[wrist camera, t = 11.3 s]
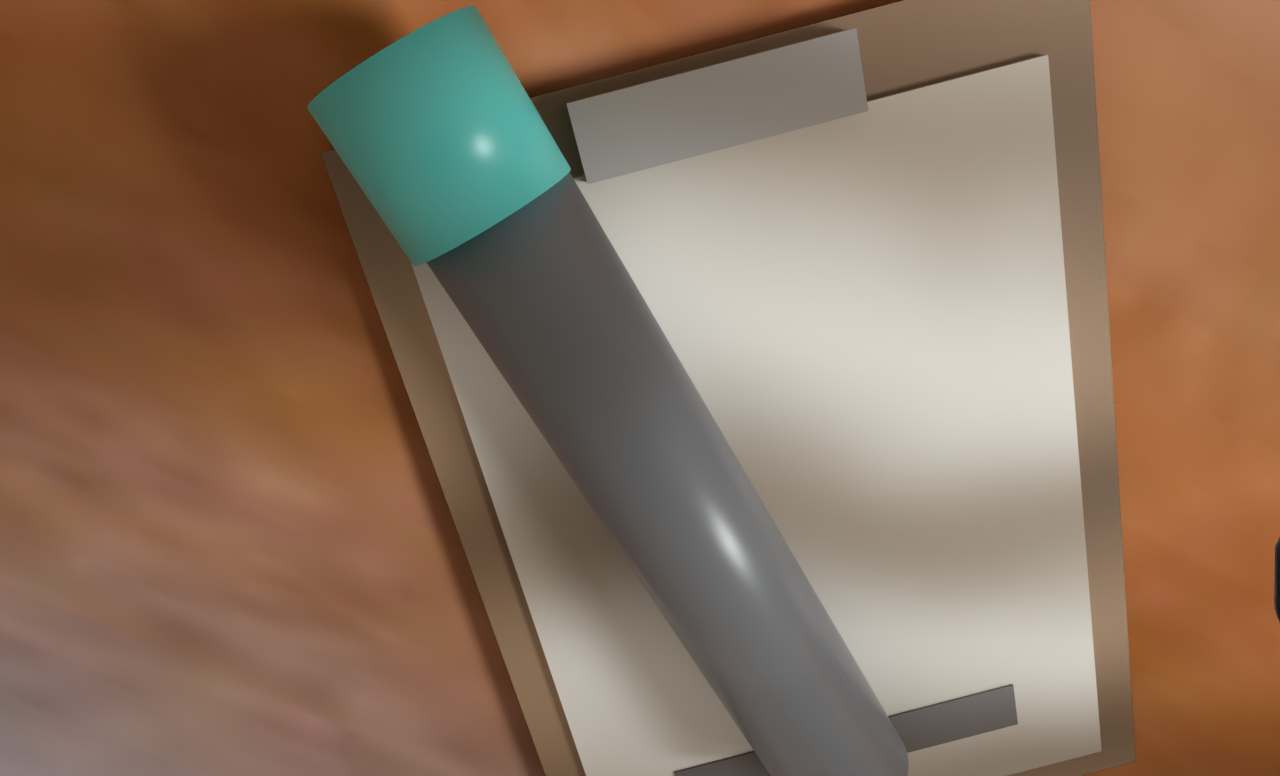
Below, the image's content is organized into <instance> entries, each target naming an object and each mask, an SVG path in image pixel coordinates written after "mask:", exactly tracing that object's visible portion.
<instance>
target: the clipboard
mask: <svg viewBox="0 0 1280 776" xmlns="http://www.w3.org/2000/svg"><path fill="white" fill-rule="evenodd" d="M530 99H531V101H532V103H533V105H534V106H535V108H536V110H537V111H538V113H539V115H540V117H541V118H542V120H543V122H544V123H545V125H546V127H547V129H548V130H549V132H550V134H551V135H552V137H553V139H554V141H555V142H556V144H557V146H558V147H559V149H560V151H561V153H562V154H563V156H564V158H565V159H566V161H567V163H568V165H569V166H570V168H571V170H570V174H571V175H572V177H573V179H574V180H575V182H576V184H577V186H578V187H579V189H580V191H581V192H582V194H583V196H584V198H585V199H586V201H587V203H588V204H589V206H590V208H591V209H592V211H593V213H594V215H595V216H596V218H597V220H598V221H599V223H600V225H601V227H602V228H603V230H604V232H605V233H606V235H607V237H608V239H609V240H610V242H611V244H612V245H613V247H614V249H615V251H616V252H617V254H618V256H619V257H620V259H621V261H622V263H623V264H624V266H625V268H626V269H627V271H628V273H629V274H630V276H631V278H632V280H633V281H634V283H635V285H636V286H637V288H638V290H639V292H640V293H641V295H642V297H643V298H644V300H645V302H646V304H647V305H648V307H649V309H650V310H651V312H652V314H653V316H654V317H655V319H656V321H657V322H658V324H659V326H660V327H661V329H662V331H663V333H664V334H665V336H666V338H667V339H668V341H669V343H670V345H671V346H672V348H673V350H674V351H675V353H676V355H677V357H678V358H679V360H680V362H681V363H682V365H683V367H684V369H685V370H686V372H687V374H688V375H689V377H690V379H691V380H692V382H693V384H694V386H695V387H696V389H697V391H698V392H699V394H700V396H701V398H702V399H703V401H704V403H705V404H706V406H707V408H708V410H709V411H710V413H711V415H712V416H713V418H714V420H715V422H716V423H717V425H718V427H719V428H720V430H721V432H722V434H723V435H724V437H725V439H726V440H727V442H728V444H729V445H730V447H731V449H732V451H733V452H734V454H735V456H736V457H737V459H738V461H739V463H740V464H741V466H742V468H743V469H744V471H745V473H746V475H747V476H748V478H749V480H750V481H751V483H752V485H753V487H754V488H755V490H756V492H757V493H758V495H759V497H760V498H761V500H762V502H763V504H764V505H765V507H766V509H767V510H768V512H769V514H770V516H771V517H772V519H773V521H774V522H775V524H776V526H777V528H778V529H779V531H780V533H781V534H782V536H783V538H784V540H785V541H786V543H787V545H788V546H789V548H790V550H791V551H792V553H793V555H794V557H795V558H796V560H797V562H798V563H799V565H800V567H801V569H802V570H803V572H804V574H805V575H806V577H807V579H808V581H809V582H810V584H811V586H812V587H813V589H814V591H815V593H816V594H817V596H818V598H819V599H820V601H821V603H822V604H823V606H824V608H825V610H826V611H827V613H828V615H829V616H830V618H831V620H832V622H833V623H834V625H835V627H836V628H837V630H838V632H839V634H840V635H841V637H842V639H843V640H844V642H845V644H846V646H847V647H848V649H849V651H850V652H851V654H852V656H853V658H854V659H855V661H856V663H857V664H858V666H859V668H860V669H861V671H862V673H863V675H864V676H865V678H866V680H867V681H868V683H869V685H870V687H871V688H872V690H873V692H874V693H875V695H876V697H877V699H878V700H879V702H880V704H881V705H882V707H883V709H884V711H885V712H886V714H887V716H888V717H889V719H890V721H891V722H892V724H893V726H894V728H895V729H896V731H897V733H898V734H899V736H900V738H901V740H902V741H903V743H904V745H905V747H906V750H907V754H908V760H909V769H908V776H1082V775H1086V774H1089V773H1093V772H1097V771H1101V770H1105V769H1109V768H1113V767H1117V766H1120V765H1124V764H1128V763H1132V762H1136V761H1135V745H1134V728H1133V711H1132V694H1131V678H1130V661H1129V644H1128V628H1127V611H1126V594H1125V578H1124V561H1123V544H1122V528H1121V511H1120V494H1119V478H1118V461H1117V444H1116V428H1115V411H1114V394H1113V377H1112V361H1111V344H1110V327H1109V311H1108V294H1107V277H1106V261H1105V244H1104V227H1103V211H1102V194H1101V177H1100V161H1099V144H1098V127H1097V111H1096V94H1095V77H1094V61H1093V44H1092V27H1091V10H1090V0H903V1H899V2H895V3H891V4H887V5H883V6H880V7H876V8H872V9H868V10H864V11H860V12H857V13H853V14H849V15H845V16H841V17H838V18H834V19H830V20H826V21H822V22H818V23H815V24H811V25H807V26H803V27H799V28H795V29H792V30H788V31H784V32H780V33H776V34H773V35H769V36H765V37H761V38H757V39H753V40H750V41H746V42H742V43H738V44H734V45H730V46H727V47H723V48H719V49H715V50H711V51H708V52H704V53H700V54H696V55H692V56H688V57H685V58H681V59H677V60H673V61H669V62H665V63H662V64H658V65H654V66H650V67H646V68H643V69H639V70H635V71H631V72H627V73H623V74H620V75H616V76H612V77H608V78H604V79H600V80H597V81H593V82H589V83H585V84H581V85H578V86H574V87H570V88H566V89H562V90H558V91H555V92H551V93H547V94H543V95H539V96H535V97H532V98H530ZM321 155H322V158H323V161H324V164H325V166H326V169H327V172H328V175H329V177H330V180H331V183H332V186H333V189H334V191H335V194H336V197H337V200H338V202H339V205H340V208H341V211H342V213H343V216H344V219H345V222H346V225H347V227H348V230H349V233H350V236H351V238H352V241H353V244H354V247H355V249H356V252H357V255H358V258H359V260H360V263H361V266H362V269H363V272H364V274H365V277H366V280H367V283H368V285H369V288H370V291H371V294H372V296H373V299H374V302H375V305H376V308H377V310H378V313H379V316H380V319H381V321H382V324H383V327H384V330H385V332H386V335H387V338H388V341H389V343H390V346H391V349H392V352H393V355H394V357H395V360H396V363H397V366H398V368H399V371H400V374H401V377H402V379H403V382H404V385H405V388H406V391H407V393H408V396H409V399H410V402H411V404H412V407H413V410H414V413H415V415H416V418H417V421H418V424H419V426H420V429H421V432H422V435H423V438H424V440H425V443H426V446H427V449H428V451H429V454H430V457H431V460H432V462H433V465H434V468H435V471H436V474H437V476H438V479H439V482H440V485H441V487H442V490H443V493H444V496H445V498H446V501H447V504H448V507H449V509H450V512H451V515H452V518H453V521H454V523H455V526H456V529H457V532H458V534H459V537H460V540H461V543H462V545H463V548H464V551H465V554H466V556H467V559H468V562H469V565H470V568H471V570H472V573H473V576H474V579H475V581H476V584H477V587H478V590H479V592H480V595H481V598H482V601H483V604H484V606H485V609H486V612H487V615H488V617H489V620H490V623H491V626H492V628H493V631H494V634H495V637H496V639H497V642H498V645H499V648H500V651H501V653H502V656H503V659H504V662H505V664H506V667H507V670H508V673H509V675H510V678H511V681H512V684H513V687H514V689H515V692H516V695H517V698H518V700H519V703H520V706H521V709H522V711H523V714H524V717H525V720H526V722H527V725H528V728H529V731H530V734H531V736H532V739H533V742H534V745H535V747H536V750H537V753H538V756H539V758H540V761H541V764H542V767H543V770H544V772H545V775H546V776H771V775H770V774H769V772H768V771H767V769H766V768H765V766H764V765H763V764H762V762H761V761H760V759H759V758H758V756H757V755H756V753H755V752H754V750H753V749H752V747H751V746H750V744H749V743H748V741H747V740H746V738H745V737H744V735H743V734H742V732H741V731H740V729H739V728H738V726H737V725H736V723H735V722H734V720H733V719H732V717H731V716H730V714H729V713H728V711H727V710H726V708H725V707H724V705H723V704H722V702H721V701H720V699H719V698H718V696H717V695H716V693H715V692H714V690H713V689H712V687H711V686H710V684H709V683H708V682H707V680H706V679H705V677H704V676H703V674H702V673H701V671H700V670H699V668H698V667H697V665H696V664H695V662H694V661H693V659H692V658H691V656H690V655H689V653H688V652H687V650H686V649H685V647H684V646H683V644H682V643H681V641H680V640H679V638H678V637H677V635H676V634H675V632H674V631H673V629H672V628H671V626H670V625H669V623H668V622H667V620H666V619H665V617H664V616H663V614H662V613H661V611H660V610H659V608H658V607H657V605H656V604H655V602H654V601H653V599H652V598H651V597H650V595H649V594H648V592H647V591H646V589H645V588H644V586H643V585H642V583H641V582H640V580H639V579H638V577H637V576H636V574H635V573H634V571H633V570H632V568H631V567H630V565H629V564H628V562H627V561H626V559H625V558H624V556H623V555H622V553H621V552H620V550H619V549H618V547H617V546H616V544H615V543H614V541H613V540H612V538H611V537H610V535H609V534H608V532H607V531H606V529H605V528H604V526H603V525H602V523H601V522H600V520H599V519H598V517H597V516H596V514H595V513H594V512H593V510H592V509H591V507H590V506H589V504H588V503H587V501H586V500H585V498H584V497H583V495H582V494H581V492H580V491H579V489H578V488H577V486H576V485H575V483H574V482H573V480H572V479H571V477H570V476H569V474H568V473H567V471H566V470H565V468H564V467H563V465H562V464H561V462H560V461H559V459H558V458H557V456H556V455H555V453H554V452H553V450H552V449H551V447H550V446H549V444H548V443H547V441H546V440H545V438H544V437H543V435H542V434H541V432H540V431H539V430H538V428H537V427H536V425H535V424H534V422H533V421H532V419H531V418H530V416H529V415H528V413H527V412H526V410H525V409H524V407H523V406H522V404H521V403H520V401H519V400H518V398H517V397H516V395H515V394H514V392H513V391H512V389H511V388H510V386H509V385H508V383H507V382H506V380H505V379H504V377H503V376H502V374H501V373H500V371H499V370H498V368H497V367H496V365H495V364H494V362H493V361H492V359H491V358H490V356H489V355H488V353H487V352H486V350H485V349H484V347H483V346H482V345H481V343H480V342H479V340H478V339H477V337H476V336H475V334H474V333H473V331H472V330H471V328H470V327H469V325H468V324H467V322H466V321H465V319H464V318H463V316H462V315H461V313H460V312H459V310H458V309H457V307H456V306H455V304H454V303H453V301H452V300H451V298H450V297H449V295H448V294H447V292H446V291H445V289H444V288H443V286H442V285H441V283H440V282H439V280H438V279H437V277H436V276H435V274H434V273H433V271H432V270H431V268H430V267H429V265H428V264H427V262H426V263H423V264H421V265H418V266H414V265H413V264H412V263H411V261H410V260H409V258H408V257H407V255H406V254H405V252H404V251H403V249H402V248H401V246H400V245H399V243H398V242H397V240H396V239H395V237H394V236H393V235H392V233H391V232H390V230H389V229H388V227H387V226H386V224H385V223H384V221H383V220H382V218H381V217H380V215H379V214H378V212H377V211H376V209H375V208H374V206H373V205H372V204H371V202H370V201H369V199H368V198H367V196H366V195H365V193H364V192H363V190H362V189H361V187H360V186H359V184H358V183H357V181H356V180H355V178H354V177H353V175H352V174H351V173H350V171H349V170H348V168H347V167H346V165H345V164H344V162H343V161H342V159H341V158H340V156H339V155H338V153H337V152H336V150H335V149H333V150H329V151H325V152H322V153H321Z"/></svg>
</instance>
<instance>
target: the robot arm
mask: <svg viewBox="0 0 1280 776" xmlns="http://www.w3.org/2000/svg"><path fill="white" fill-rule="evenodd" d="M1274 605H1275V610H1276V614H1277V617H1278V619H1279V622H1280V538H1279V539H1278V541H1277V543H1276V546H1275V587H1274Z"/></svg>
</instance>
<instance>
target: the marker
mask: <svg viewBox="0 0 1280 776" xmlns="http://www.w3.org/2000/svg"><path fill="white" fill-rule="evenodd" d="M307 109H308V110H309V112H310V113H311V115H312V116H313V118H314V119H315V121H316V122H317V124H318V125H319V127H320V128H321V130H322V131H323V133H324V134H325V136H326V137H327V139H328V140H329V142H330V143H331V144H332V146H333V147H334V149H335V150H336V152H337V153H338V155H339V156H340V158H341V159H342V161H343V162H344V164H345V165H346V167H347V168H348V170H349V171H350V173H351V174H352V175H353V177H354V178H355V180H356V181H357V183H358V184H359V186H360V187H361V189H362V190H363V192H364V193H365V195H366V196H367V198H368V199H369V201H370V202H371V204H372V205H373V206H374V208H375V209H376V211H377V212H378V214H379V215H380V217H381V218H382V220H383V221H384V223H385V224H386V226H387V227H388V229H389V230H390V232H391V233H392V235H393V236H394V237H395V239H396V240H397V242H398V243H399V245H400V246H401V248H402V249H403V251H404V252H405V254H406V255H407V257H408V258H409V260H410V261H411V263H412V264H413V265H414V266H418V265H421V264H423V263H426V262H427V264H428V265H429V267H430V268H431V270H432V271H433V273H434V274H435V276H436V277H437V279H438V280H439V282H440V283H441V285H442V286H443V288H444V289H445V291H446V292H447V294H448V295H449V297H450V298H451V300H452V301H453V303H454V304H455V306H456V307H457V309H458V310H459V312H460V313H461V315H462V316H463V318H464V319H465V321H466V322H467V324H468V325H469V327H470V328H471V330H472V331H473V333H474V334H475V336H476V337H477V339H478V340H479V342H480V343H481V345H482V346H483V347H484V349H485V350H486V352H487V353H488V355H489V356H490V358H491V359H492V361H493V362H494V364H495V365H496V367H497V368H498V370H499V371H500V373H501V374H502V376H503V377H504V379H505V380H506V382H507V383H508V385H509V386H510V388H511V389H512V391H513V392H514V394H515V395H516V397H517V398H518V400H519V401H520V403H521V404H522V406H523V407H524V409H525V410H526V412H527V413H528V415H529V416H530V418H531V419H532V421H533V422H534V424H535V425H536V427H537V428H538V430H539V431H540V432H541V434H542V435H543V437H544V438H545V440H546V441H547V443H548V444H549V446H550V447H551V449H552V450H553V452H554V453H555V455H556V456H557V458H558V459H559V461H560V462H561V464H562V465H563V467H564V468H565V470H566V471H567V473H568V474H569V476H570V477H571V479H572V480H573V482H574V483H575V485H576V486H577V488H578V489H579V491H580V492H581V494H582V495H583V497H584V498H585V500H586V501H587V503H588V504H589V506H590V507H591V509H592V510H593V512H594V513H595V514H596V516H597V517H598V519H599V520H600V522H601V523H602V525H603V526H604V528H605V529H606V531H607V532H608V534H609V535H610V537H611V538H612V540H613V541H614V543H615V544H616V546H617V547H618V549H619V550H620V552H621V553H622V555H623V556H624V558H625V559H626V561H627V562H628V564H629V565H630V567H631V568H632V570H633V571H634V573H635V574H636V576H637V577H638V579H639V580H640V582H641V583H642V585H643V586H644V588H645V589H646V591H647V592H648V594H649V595H650V597H651V598H652V599H653V601H654V602H655V604H656V605H657V607H658V608H659V610H660V611H661V613H662V614H663V616H664V617H665V619H666V620H667V622H668V623H669V625H670V626H671V628H672V629H673V631H674V632H675V634H676V635H677V637H678V638H679V640H680V641H681V643H682V644H683V646H684V647H685V649H686V650H687V652H688V653H689V655H690V656H691V658H692V659H693V661H694V662H695V664H696V665H697V667H698V668H699V670H700V671H701V673H702V674H703V676H704V677H705V679H706V680H707V682H708V683H709V684H710V686H711V687H712V689H713V690H714V692H715V693H716V695H717V696H718V698H719V699H720V701H721V702H722V704H723V705H724V707H725V708H726V710H727V711H728V713H729V714H730V716H731V717H732V719H733V720H734V722H735V723H736V725H737V726H738V728H739V729H740V731H741V732H742V734H743V735H744V737H745V738H746V740H747V741H748V743H749V744H750V746H751V747H752V749H753V750H754V752H755V753H756V755H757V756H758V758H759V759H760V761H761V762H762V764H763V765H764V766H765V768H766V769H767V771H768V772H769V774H770V775H771V776H908V769H909V760H908V754H907V750H906V747H905V745H904V743H903V741H902V740H901V738H900V736H899V734H898V733H897V731H896V729H895V728H894V726H893V724H892V722H891V721H890V719H889V717H888V716H887V714H886V712H885V711H884V709H883V707H882V705H881V704H880V702H879V700H878V699H877V697H876V695H875V693H874V692H873V690H872V688H871V687H870V685H869V683H868V681H867V680H866V678H865V676H864V675H863V673H862V671H861V669H860V668H859V666H858V664H857V663H856V661H855V659H854V658H853V656H852V654H851V652H850V651H849V649H848V647H847V646H846V644H845V642H844V640H843V639H842V637H841V635H840V634H839V632H838V630H837V628H836V627H835V625H834V623H833V622H832V620H831V618H830V616H829V615H828V613H827V611H826V610H825V608H824V606H823V604H822V603H821V601H820V599H819V598H818V596H817V594H816V593H815V591H814V589H813V587H812V586H811V584H810V582H809V581H808V579H807V577H806V575H805V574H804V572H803V570H802V569H801V567H800V565H799V563H798V562H797V560H796V558H795V557H794V555H793V553H792V551H791V550H790V548H789V546H788V545H787V543H786V541H785V540H784V538H783V536H782V534H781V533H780V531H779V529H778V528H777V526H776V524H775V522H774V521H773V519H772V517H771V516H770V514H769V512H768V510H767V509H766V507H765V505H764V504H763V502H762V500H761V498H760V497H759V495H758V493H757V492H756V490H755V488H754V487H753V485H752V483H751V481H750V480H749V478H748V476H747V475H746V473H745V471H744V469H743V468H742V466H741V464H740V463H739V461H738V459H737V457H736V456H735V454H734V452H733V451H732V449H731V447H730V445H729V444H728V442H727V440H726V439H725V437H724V435H723V434H722V432H721V430H720V428H719V427H718V425H717V423H716V422H715V420H714V418H713V416H712V415H711V413H710V411H709V410H708V408H707V406H706V404H705V403H704V401H703V399H702V398H701V396H700V394H699V392H698V391H697V389H696V387H695V386H694V384H693V382H692V380H691V379H690V377H689V375H688V374H687V372H686V370H685V369H684V367H683V365H682V363H681V362H680V360H679V358H678V357H677V355H676V353H675V351H674V350H673V348H672V346H671V345H670V343H669V341H668V339H667V338H666V336H665V334H664V333H663V331H662V329H661V327H660V326H659V324H658V322H657V321H656V319H655V317H654V316H653V314H652V312H651V310H650V309H649V307H648V305H647V304H646V302H645V300H644V298H643V297H642V295H641V293H640V292H639V290H638V288H637V286H636V285H635V283H634V281H633V280H632V278H631V276H630V274H629V273H628V271H627V269H626V268H625V266H624V264H623V263H622V261H621V259H620V257H619V256H618V254H617V252H616V251H615V249H614V247H613V245H612V244H611V242H610V240H609V239H608V237H607V235H606V233H605V232H604V230H603V228H602V227H601V225H600V223H599V221H598V220H597V218H596V216H595V215H594V213H593V211H592V209H591V208H590V206H589V204H588V203H587V201H586V199H585V198H584V196H583V194H582V192H581V191H580V189H579V187H578V186H577V184H576V182H575V180H574V179H573V177H572V175H571V174H570V170H571V168H570V166H569V165H568V163H567V161H566V159H565V158H564V156H563V154H562V153H561V151H560V149H559V147H558V146H557V144H556V142H555V141H554V139H553V137H552V135H551V134H550V132H549V130H548V129H547V127H546V125H545V123H544V122H543V120H542V118H541V117H540V115H539V113H538V111H537V110H536V108H535V106H534V105H533V103H532V101H531V99H530V98H529V96H528V94H527V93H526V91H525V89H524V87H523V86H522V84H521V82H520V81H519V79H518V77H517V75H516V74H515V72H514V70H513V69H512V67H511V65H510V63H509V62H508V60H507V58H506V57H505V55H504V53H503V51H502V50H501V48H500V46H499V45H498V43H497V41H496V39H495V38H494V36H493V34H492V33H491V31H490V29H489V27H488V26H487V24H486V22H485V21H484V19H483V17H482V15H481V14H480V12H479V10H478V9H477V7H476V6H468V7H465V8H461V9H459V10H456V11H454V12H452V13H449V14H447V15H445V16H443V17H441V18H439V19H436V20H434V21H432V22H431V23H429V24H427V25H425V26H423V27H421V28H419V29H417V30H415V31H413V32H412V33H410V34H408V35H406V36H405V37H403V38H401V39H399V40H398V41H396V42H394V43H392V44H391V45H389V46H387V47H386V48H384V49H382V50H381V51H379V52H378V53H376V54H374V55H373V56H371V57H370V58H368V59H366V60H365V61H363V62H362V63H360V64H359V65H357V66H356V67H354V68H353V69H351V70H350V71H348V72H347V73H346V74H344V75H343V76H341V77H340V78H338V79H337V80H336V81H334V82H333V83H332V84H330V85H329V86H328V87H326V88H325V89H324V90H323V91H322V92H320V93H319V94H318V95H317V96H316V97H315V98H314V99H313V100H312V101H311V102H310V103H309V104H308V106H307Z"/></svg>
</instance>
